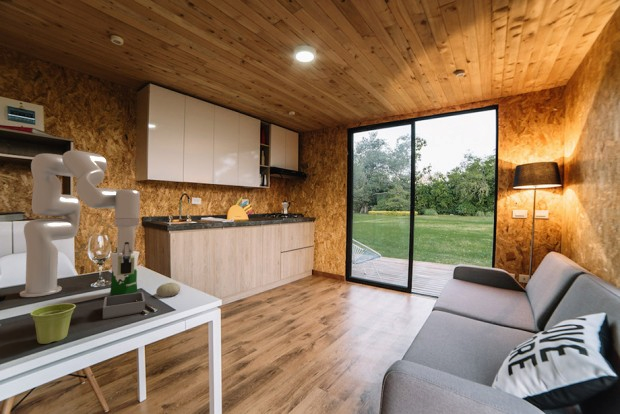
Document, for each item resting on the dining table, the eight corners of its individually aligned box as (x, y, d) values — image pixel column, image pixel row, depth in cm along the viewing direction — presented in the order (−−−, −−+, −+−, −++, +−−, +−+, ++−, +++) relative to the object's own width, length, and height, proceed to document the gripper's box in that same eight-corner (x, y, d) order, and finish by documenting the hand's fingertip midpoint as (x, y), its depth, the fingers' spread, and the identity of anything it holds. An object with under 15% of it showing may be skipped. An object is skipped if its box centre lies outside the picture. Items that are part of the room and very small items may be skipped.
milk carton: (124, 289, 122) (125, 245, 122) (141, 291, 120) (142, 246, 120) (106, 295, 114) (107, 248, 113) (123, 297, 112) (125, 249, 112)
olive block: (117, 272, 99) (118, 256, 99) (133, 270, 102) (134, 255, 102) (117, 275, 95) (117, 258, 95) (134, 273, 98) (134, 257, 98)
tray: (104, 307, 100) (104, 296, 100) (142, 301, 107) (143, 291, 107) (102, 319, 90) (103, 307, 90) (144, 312, 97) (145, 301, 97)
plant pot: (49, 331, 81) (50, 303, 81) (82, 331, 82) (83, 303, 82) (18, 347, 72) (19, 315, 72) (56, 347, 73) (57, 315, 73)
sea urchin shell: (151, 290, 116) (165, 275, 120) (164, 300, 120) (177, 285, 124) (158, 295, 110) (173, 279, 114) (172, 305, 114) (186, 289, 118)
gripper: (115, 221, 104) (113, 268, 104) (114, 224, 90) (112, 278, 90) (138, 221, 108) (136, 266, 108) (140, 224, 94) (138, 275, 94)
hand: (125, 271), depth 99 cm, fingers closed on olive block, 5 cm apart
